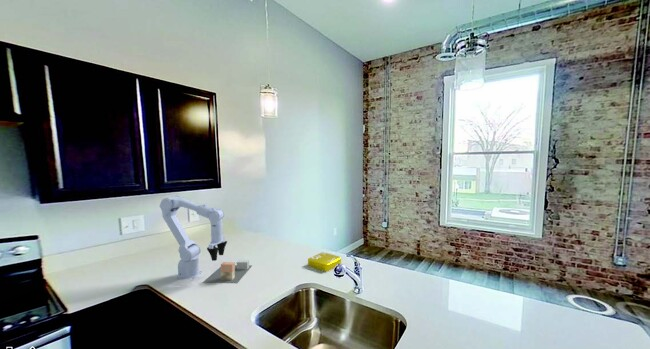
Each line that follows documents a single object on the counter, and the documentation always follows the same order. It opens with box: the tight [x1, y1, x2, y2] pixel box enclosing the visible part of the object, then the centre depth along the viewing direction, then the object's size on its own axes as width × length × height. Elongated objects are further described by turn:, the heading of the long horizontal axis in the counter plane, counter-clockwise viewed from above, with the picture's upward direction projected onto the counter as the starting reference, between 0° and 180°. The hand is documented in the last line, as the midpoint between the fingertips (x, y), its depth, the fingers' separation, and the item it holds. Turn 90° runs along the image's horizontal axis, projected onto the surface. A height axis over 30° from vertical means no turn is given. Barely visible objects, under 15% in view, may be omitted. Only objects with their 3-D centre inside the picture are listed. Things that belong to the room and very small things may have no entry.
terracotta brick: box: [220, 261, 236, 272], centre depth 133 cm, size 6×3×4 cm, turn 85°
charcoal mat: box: [202, 264, 253, 284], centre depth 139 cm, size 18×22×1 cm
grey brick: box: [236, 259, 250, 269], centre depth 146 cm, size 6×3×4 cm, turn 86°
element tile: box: [307, 251, 342, 272], centre depth 151 cm, size 15×15×5 cm
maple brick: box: [221, 270, 235, 280], centre depth 133 cm, size 6×3×4 cm, turn 86°
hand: (217, 257), depth 137 cm, fingers open, 7 cm apart
